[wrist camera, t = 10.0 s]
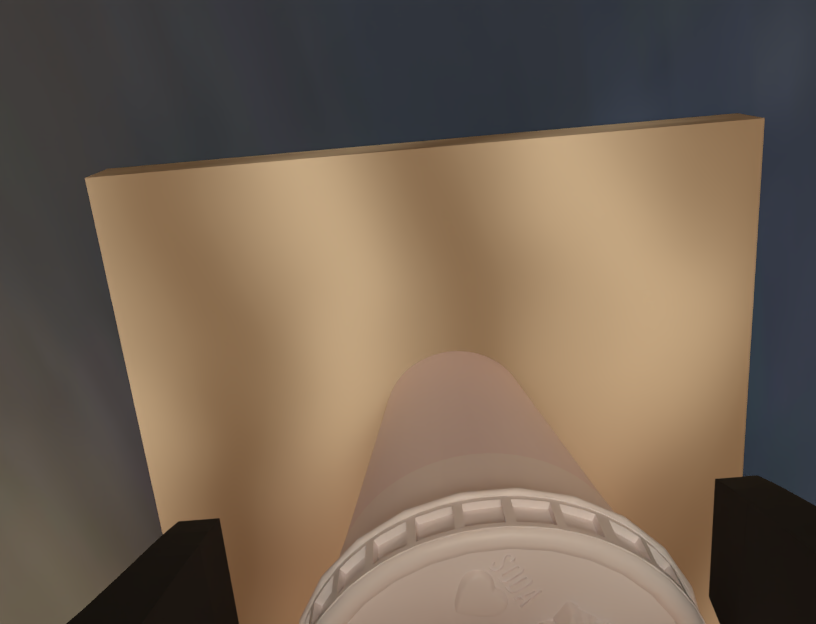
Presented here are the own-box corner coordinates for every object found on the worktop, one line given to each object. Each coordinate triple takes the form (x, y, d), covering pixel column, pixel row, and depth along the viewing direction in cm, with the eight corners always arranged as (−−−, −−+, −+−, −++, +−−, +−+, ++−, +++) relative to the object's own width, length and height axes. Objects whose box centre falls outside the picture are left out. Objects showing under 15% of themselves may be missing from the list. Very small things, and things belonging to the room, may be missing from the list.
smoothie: (289, 450, 21) (100, 1175, 7) (419, 252, 19) (480, 728, 6) (487, 557, 22) (633, 1348, 8) (626, 380, 20) (1079, 1021, 7)
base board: (211, 669, 25) (200, 707, 23) (107, 169, 20) (84, 178, 18) (711, 629, 25) (730, 664, 23) (737, 113, 19) (764, 118, 18)
